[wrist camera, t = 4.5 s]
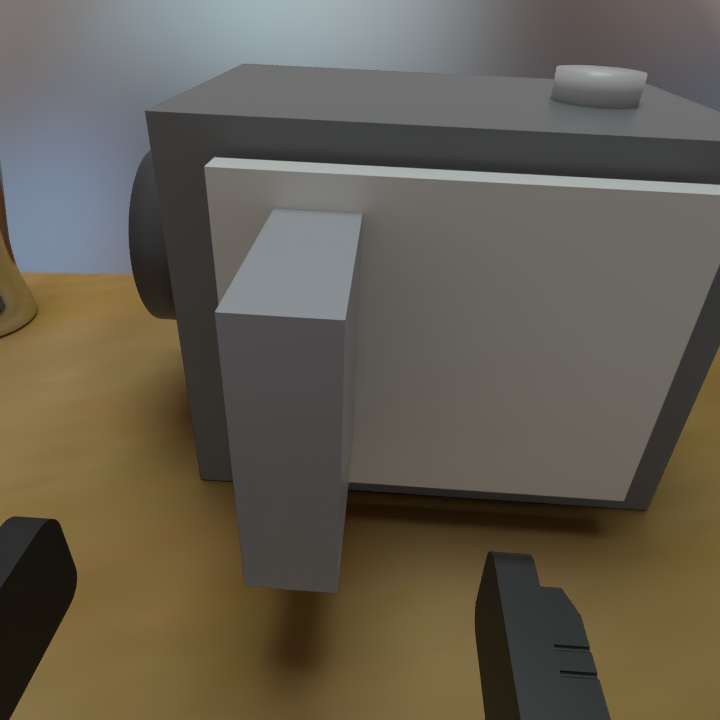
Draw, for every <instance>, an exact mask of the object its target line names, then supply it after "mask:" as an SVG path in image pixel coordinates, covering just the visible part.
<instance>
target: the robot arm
mask: <svg viewBox="0 0 720 720" xmlns="http://www.w3.org/2000/svg"><path fill="white" fill-rule="evenodd" d="M76 584H77V571H76V567H75V564H74V562H73V559H72V556H71V553H70V551H69V548H68V545H67V542H66V539H65V537H64V534H63V531H62V528H61V526H60V524H59V522H58V521H57V520H55V519H45V518H31V517H17V516H15V517H11V518H9V519H8V520H6V521H5V522H4V523H3V524H2V526H1V527H0V720H9V719H10V717H11V715H12V714H13V712H14V710H15V708H16V706H17V704H18V702H19V700H20V698H21V697H22V695H23V693H24V691H25V689H26V687H27V685H28V683H29V681H30V680H31V678H32V676H33V674H34V672H35V670H36V668H37V666H38V665H39V663H40V661H41V659H42V657H43V655H44V653H45V651H46V649H47V648H48V646H49V644H50V642H51V640H52V638H53V636H54V634H55V632H56V631H57V629H58V627H59V625H60V623H61V621H62V619H63V617H64V615H65V614H66V612H67V610H68V608H69V606H70V604H71V602H72V599H73V597H74V593H75V590H76ZM475 635H476V644H477V652H478V661H479V669H480V678H481V686H482V695H483V703H484V712H485V720H611V719H610V716H609V712H608V709H607V705H606V702H605V698H604V695H603V691H602V688H601V684H600V681H599V680H598V679H597V670H596V667H595V663H594V660H593V656H592V653H590V650H589V648H590V646H589V643H588V639H587V636H586V632H585V629H584V625H583V622H582V618H581V615H580V614H579V613H578V611H577V610H576V608H575V607H574V605H573V604H572V603H571V601H570V600H569V598H568V597H567V596H566V594H565V593H564V591H563V590H562V588H553V587H540V584H539V579H538V575H537V571H536V567H535V563H534V560H533V558H532V556H531V555H530V554H519V553H505V552H491V551H490V552H489V553H488V555H487V558H486V562H485V566H484V570H483V574H482V578H481V583H480V587H479V591H478V595H477V599H476V606H475Z"/></svg>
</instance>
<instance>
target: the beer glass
mask: <svg viewBox="0 0 720 720" xmlns="http://www.w3.org/2000/svg"><path fill="white" fill-rule="evenodd" d="M36 311H37V305H36V302H35V299H34V297H33V295H32V293H31V292H30V290H29V288H28V286H27V284H26V282H25V281H24V279H23V277H22V275H21V273H20V271H19V269H18V267H17V264H16V261H15V258H14V255H13V252H12V248H11V244H10V240H9V232H8V225H7V216H6V206H5V195H4V186H3V176H2V168H1V162H0V337H1V336H4V335H7V334H9V333H12V332H14V331H16V330H18V329H19V328H21V327H23V326H24V325H26V324H27V323H28V322H29V321H30V320H31V319H32V318H33V317H34V316H35V314H36Z"/></svg>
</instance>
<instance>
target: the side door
mask: <svg viewBox="0 0 720 720" xmlns="http://www.w3.org/2000/svg"><path fill="white" fill-rule="evenodd" d="M204 170H205V180H206V189H207V199H208V208H209V218H210V227H211V237H212V246H213V256H214V265H215V275H216V284H217V294H218V303H219V305H218V307H217V309H216V311H215V320H216V329H217V338H218V348H219V357H220V366H221V375H222V384H223V393H224V402H225V411H226V420H227V429H228V439H229V448H230V457H231V466H232V475H233V484H234V493H235V502H236V511H237V520H238V529H239V539H240V548H241V557H242V566H243V575H244V584H245V586H246V587H260V588H273V589H287V590H300V591H314V592H327V593H337V592H338V583H339V573H340V563H341V553H342V543H343V534H344V524H345V514H346V504H347V494H348V484H349V482H354V483H369V484H383V485H397V486H412V487H426V488H441V489H455V490H470V491H484V492H499V493H513V494H528V495H542V496H557V497H571V498H586V499H600V500H615V501H624V500H625V497H626V495H627V492H628V490H629V487H630V485H631V482H632V480H633V477H634V475H635V472H636V470H637V467H638V465H639V462H640V460H641V457H642V455H643V453H644V450H645V448H646V445H647V443H648V440H649V438H650V435H651V433H652V430H653V428H654V425H655V423H656V420H657V418H658V415H659V413H660V410H661V408H662V406H663V403H664V401H665V398H666V396H667V393H668V391H669V388H670V386H671V383H672V381H673V378H674V376H675V373H676V371H677V368H678V366H679V363H680V361H681V359H682V356H683V354H684V351H685V349H686V346H687V344H688V341H689V339H690V336H691V334H692V331H693V329H694V326H695V324H696V321H697V319H698V317H699V314H700V312H701V309H702V307H703V304H704V302H705V299H706V297H707V294H708V292H709V289H710V287H711V284H712V282H713V279H714V277H715V274H716V272H717V270H718V267H719V265H720V185H714V184H696V183H678V182H659V181H641V180H623V179H604V178H586V177H568V176H549V175H531V174H513V173H494V172H476V171H458V170H439V169H421V168H403V167H384V166H366V165H348V164H329V163H311V162H293V161H274V160H256V159H238V158H219V157H214V158H213V159H212V160H211V161H210V162H209V163H208V164H206V165H205V166H204Z"/></svg>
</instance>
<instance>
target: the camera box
mask: <svg viewBox="0 0 720 720" xmlns="http://www.w3.org/2000/svg"><path fill="white" fill-rule="evenodd" d="M646 78H647V73H645V72H641V71H636V70H631V69H623V68H615V67H603V66H588V65H563V66H557V69H556V74H555V79H538V78H519V77H499V76H477V75H459V74H439V73H419V72H399V71H379V70H359V69H339V68H319V67H318V68H317V67H298V66H279V65H259V64H242V65H240V66H238V67H235V68H233V69H231V70H229V71H227V72H225V73H223V74H221V75H219V76H217V77H214V78H212V79H210V80H208V81H206V82H204V83H202V84H200V85H198V86H196V87H194V88H192V89H189V90H187V91H185V92H184V93H181V94H179V95H177V96H175V97H173V98H171V99H169V100H166V101H164V102H162V103H160V104H159V105H156V106H154V107H152V108H150V109H148V110H146V111H145V114H146V121H147V126H148V133H149V140H150V146H151V150H150V151H149V152H148V153H147V154H146V156H145V157H144V158H143V160H142V162H141V164H140V166H139V168H138V171H137V173H136V177H135V180H134V184H133V189H132V194H131V201H130V209H129V249H130V258H131V265H132V271H133V275H134V280H135V283H136V286H137V290H138V292H139V295H140V297H141V300H142V302H143V304H144V305H145V307H146V308H147V310H148V311H149V312H150V313H151V314H152V315H153V316H155V317H156V318H160V319H174V320H177V325H178V332H179V339H180V345H181V352H182V358H183V365H184V372H185V378H186V385H187V391H188V398H189V405H190V411H191V418H192V424H193V431H194V438H195V444H196V451H197V457H198V464H199V471H200V477H201V479H204V480H219V481H233V475H232V466H231V457H230V448H229V439H228V429H227V420H226V411H225V402H224V393H223V384H222V375H221V366H220V357H219V348H218V338H217V329H216V320H215V311H216V309H217V307H218V305H219V303H218V294H217V284H216V275H215V265H214V256H213V246H212V237H211V227H210V218H209V208H208V199H207V189H206V180H205V170H204V166H205V165H206V164H208V163H209V162H210V161H211V160H212V159H213V158H214V157H219V158H238V159H256V160H274V161H293V162H311V163H329V164H348V165H366V166H384V167H403V168H421V169H439V170H458V171H476V172H494V173H513V174H531V175H549V176H568V177H586V178H604V179H623V180H641V181H659V182H678V183H696V184H714V185H720V112H718V111H716V110H713V109H711V108H708V107H705V106H703V105H700V104H697V103H695V102H692V101H690V100H687V99H685V98H682V97H679V96H676V95H674V94H672V93H669V92H666V91H664V90H661V89H658V88H656V87H653V86H650V85H648V84H645V81H646ZM719 346H720V265H719V267H718V270H717V272H716V274H715V277H714V279H713V282H712V284H711V287H710V289H709V292H708V294H707V297H706V299H705V302H704V304H703V307H702V309H701V312H700V314H699V317H698V319H697V321H696V324H695V326H694V329H693V331H692V334H691V336H690V339H689V341H688V344H687V346H686V349H685V351H684V354H683V356H682V359H681V361H680V363H679V366H678V368H677V371H676V373H675V376H674V378H673V381H672V383H671V386H670V388H669V391H668V393H667V396H666V398H665V401H664V403H663V406H662V408H661V410H660V413H659V415H658V418H657V420H656V423H655V425H654V428H653V430H652V433H651V435H650V438H649V440H648V443H647V445H646V448H645V450H644V453H643V455H642V457H641V460H640V462H639V465H638V467H637V470H636V472H635V475H634V477H633V480H632V482H631V485H630V487H629V490H628V492H627V495H626V497H625V500H624V501H615V500H600V499H586V498H571V497H557V496H542V495H528V494H513V493H499V492H484V491H470V490H455V489H441V488H426V487H412V486H397V485H383V484H369V483H354V482H349V484H348V490H363V491H377V492H391V493H406V494H420V495H435V496H449V497H463V498H478V499H492V500H507V501H521V502H535V503H550V504H564V505H579V506H593V507H607V508H622V509H636V510H647V509H648V507H649V504H650V502H651V500H652V498H653V495H654V493H655V491H656V489H657V486H658V484H659V482H660V480H661V477H662V475H663V473H664V470H665V468H666V466H667V464H668V461H669V459H670V457H671V455H672V452H673V450H674V448H675V445H676V443H677V441H678V439H679V436H680V434H681V432H682V430H683V427H684V425H685V423H686V420H687V418H688V416H689V414H690V411H691V409H692V407H693V405H694V402H695V400H696V398H697V395H698V393H699V391H700V389H701V386H702V384H703V382H704V380H705V377H706V375H707V373H708V370H709V368H710V366H711V364H712V361H713V359H714V357H715V355H716V352H717V350H718V348H719Z"/></svg>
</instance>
